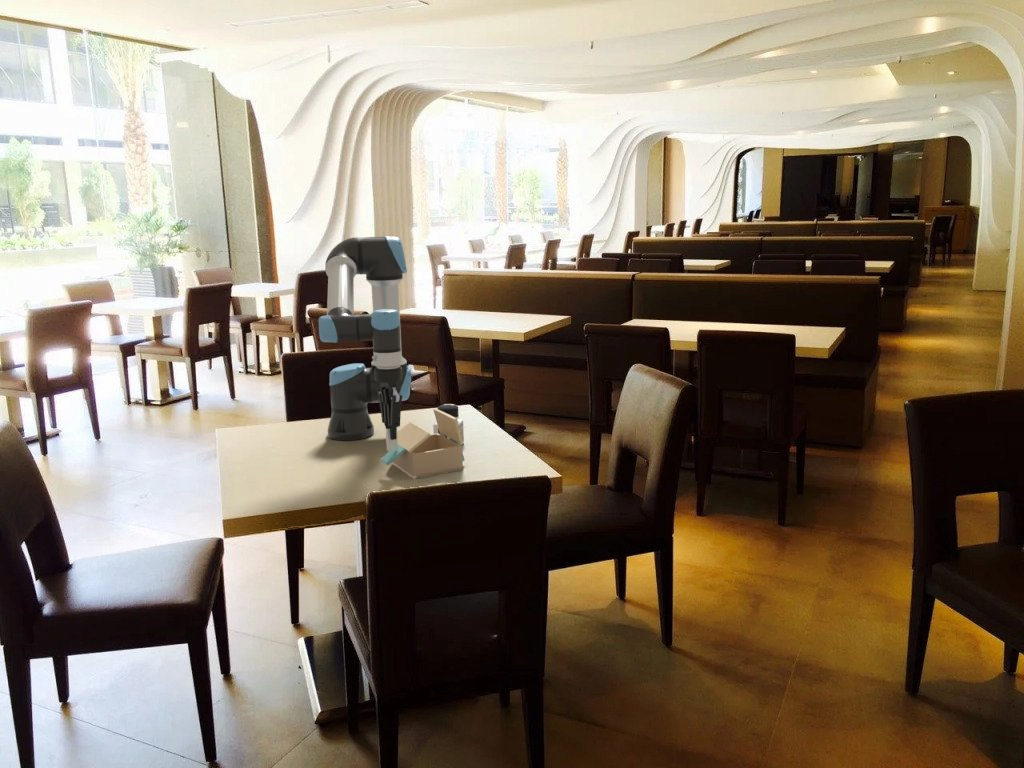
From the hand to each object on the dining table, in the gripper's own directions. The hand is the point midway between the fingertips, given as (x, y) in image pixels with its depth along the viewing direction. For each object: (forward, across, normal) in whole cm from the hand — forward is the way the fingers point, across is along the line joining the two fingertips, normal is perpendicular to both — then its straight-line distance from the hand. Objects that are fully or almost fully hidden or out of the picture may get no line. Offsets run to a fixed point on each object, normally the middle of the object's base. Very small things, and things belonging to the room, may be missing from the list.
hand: (392, 449), depth 228 cm
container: (+8, -19, +26) cm, 33 cm away
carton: (+7, -2, +11) cm, 14 cm away
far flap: (0, -2, +19) cm, 19 cm away
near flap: (0, -2, +3) cm, 4 cm away
